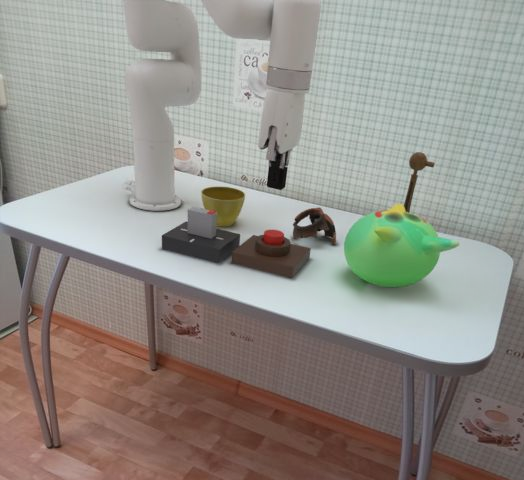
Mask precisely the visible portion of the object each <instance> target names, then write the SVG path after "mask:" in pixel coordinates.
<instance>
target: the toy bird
mask: <svg viewBox="0 0 524 480" xmlns="http://www.w3.org/2000/svg"><path fill="white" fill-rule="evenodd" d="M459 246H460V243H459V241H457V240H455V239H451V238H446V237H445V238H444V237H439V235H438V233H437V231H436V230H435V228H434V227H433V226H432V224H431V223H429V222H428V221H427V220H426V219H424V218H423V217H421V216H419V215H417V214H415V213H412V212H410V211H409V212H406V211H405V208H404V203H396V204H394V205H393V206H391V207H390V208H389V209H383V210H377V211H373V212H371V213H368V214H366V215H364V216H362V217H360V218H359V219H358V220H356V221H355V222H354V223H353V225H352V226H351V227H350V228H349V230H348V232H347V234H346V236H345V239H344V243H343V252H344V258H345V261H346V263H347V265H348V267H349V268H350V270H351V271H352V272H353V273H354V274H355V275H356V276H357V277H359V278H360V279H361V280H362V281H365V282H367V283H370V284H372V285H374V286H375V285H376V286H380V287H387V288H399V287H405V286H406V287H407V286H410V285H413V284H415V283H418V282H420V281H421V280H423V279H424V278H426V277H427V276H428V275H430V273H432V271H433V270H434V269H435V267H436V266H437V264H438V262H439V259H440V255H441V253H444V252H447V251H450V250H454V249H456V248H457V247H459Z"/></svg>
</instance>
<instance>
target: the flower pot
mask: <svg viewBox="0 0 524 480" xmlns="http://www.w3.org/2000/svg"><path fill="white" fill-rule="evenodd" d="M200 194H201V201H202V205H203V209H206V210H214V211H216V212H217V222H216V227H220V228H227V227H228V228H229V227H231V226H233V225H234V224H235V222H236V221H237V219H238V217H239V215H240V214H241V212H242V209H243V206H244V203H245V199H246V193H245V192H244V190H241V189H239V188H238V189H237V188H235V187H230V186H221V185H219V186H209V187H208V186H207V187H205V188H203V189H202V190H201V191H200Z"/></svg>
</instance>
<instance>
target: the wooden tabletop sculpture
mask: <svg viewBox="0 0 524 480" xmlns="http://www.w3.org/2000/svg"><path fill="white" fill-rule="evenodd" d="M408 166H409V167H410V169H411V170H413V173H411V174H410V178H409V179H410V180H409V184H408V188H407V191H406V196H405V199H404V203H403V206H404V208H405V211H406V212H409V213H410V210H411V206H412V202H413V196H414V192H415V188H416V185H417V181H418V177H419V175H418V171H422V170H424V169H425V168H426V167H428V168H434V166H435V162H434V161H429V160H428V157H427V156H426V154H425V153H423V152H421V151H416V152H414V153H412V155H411V156H410V157H409V160H408Z"/></svg>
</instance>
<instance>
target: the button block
mask: <svg viewBox="0 0 524 480" xmlns="http://www.w3.org/2000/svg"><path fill="white" fill-rule="evenodd" d="M263 238H264V234H260V235H257V234H252V235H251V236H250V237H249V238H247V239H246V240H244V241H243V242H242V243H240V245H239V247H237V248H236V249H235V250H234V251H232V253H231V258H230V259H231V260H230V261H231V263H230V264H233V265H237V266H240V267H245V268H249V269H253V270H257V271H261V272H264V273H268V274H271V275H276V276H280V277H283V278H287V279H293V278H294V277H295V276H296V275H297V274H298V273H299V271H301V269H302V268H303V267H304V266H305V264H306V263H308V261H309V260H310V256H311V249H312V248H311V247H307V246H304V245H298V244H296V243H295V244H294V243H292V242H291V240H290V239H289V238H287V237H285V236H284V239H283V244H281V245H270V244H266V243H264V242H263Z"/></svg>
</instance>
